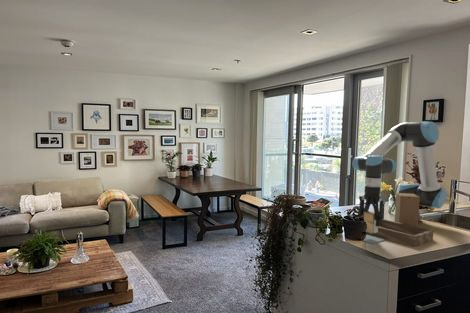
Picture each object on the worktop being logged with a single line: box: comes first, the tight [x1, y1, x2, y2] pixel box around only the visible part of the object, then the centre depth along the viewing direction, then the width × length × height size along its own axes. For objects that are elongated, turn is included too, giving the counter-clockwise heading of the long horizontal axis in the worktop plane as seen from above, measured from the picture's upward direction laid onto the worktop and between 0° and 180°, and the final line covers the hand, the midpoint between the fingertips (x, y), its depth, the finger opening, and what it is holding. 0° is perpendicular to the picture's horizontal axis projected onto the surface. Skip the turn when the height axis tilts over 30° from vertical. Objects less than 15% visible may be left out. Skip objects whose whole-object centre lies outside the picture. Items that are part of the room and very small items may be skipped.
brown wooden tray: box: [366, 218, 434, 248], centre depth 181 cm, size 19×29×5 cm, turn 36°
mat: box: [362, 234, 385, 245], centre depth 174 cm, size 10×10×1 cm
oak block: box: [364, 210, 375, 233], centre depth 173 cm, size 5×5×10 cm
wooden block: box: [394, 192, 420, 227], centre depth 194 cm, size 10×10×20 cm
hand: (370, 230), depth 173 cm, fingers closed on oak block, 5 cm apart
